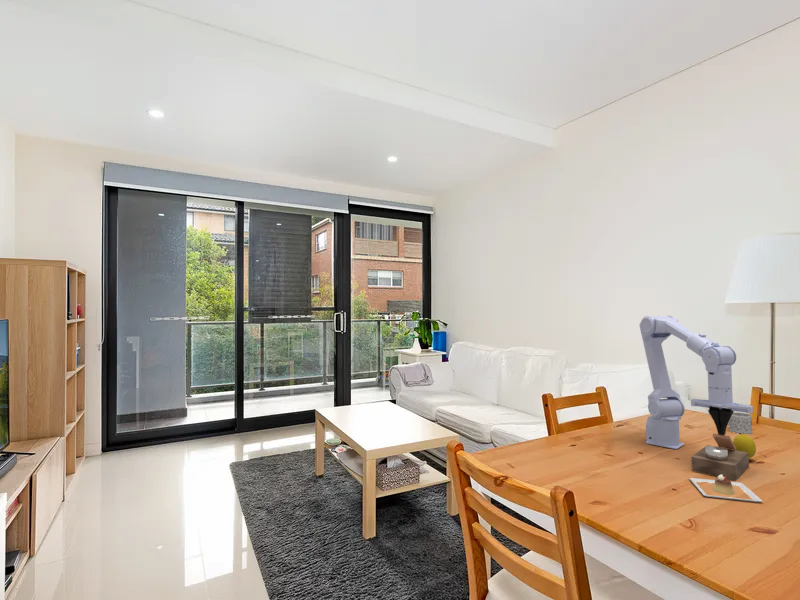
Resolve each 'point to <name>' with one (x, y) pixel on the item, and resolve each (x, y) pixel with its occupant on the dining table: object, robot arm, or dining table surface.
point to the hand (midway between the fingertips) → (721, 434)
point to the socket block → (721, 464)
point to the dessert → (726, 488)
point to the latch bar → (724, 441)
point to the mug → (740, 423)
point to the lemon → (745, 444)
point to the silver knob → (716, 453)
